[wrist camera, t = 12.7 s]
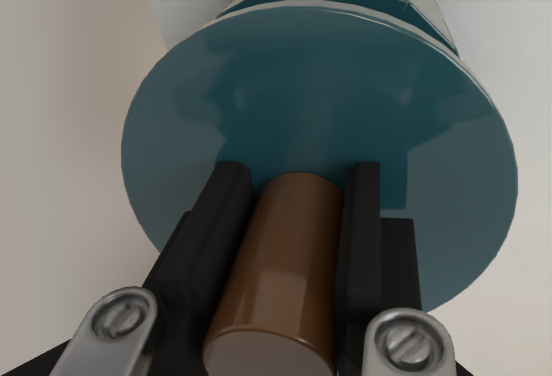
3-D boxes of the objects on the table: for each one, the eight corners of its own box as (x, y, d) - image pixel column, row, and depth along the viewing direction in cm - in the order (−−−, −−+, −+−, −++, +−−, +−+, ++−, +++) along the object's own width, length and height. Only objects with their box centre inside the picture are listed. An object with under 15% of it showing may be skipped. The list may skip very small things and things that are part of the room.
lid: (184, 290, 16) (106, 458, 11) (89, 8, 10) (-141, 116, 6) (473, 313, 14) (519, 532, 9) (553, -27, 8) (771, 101, 4)
